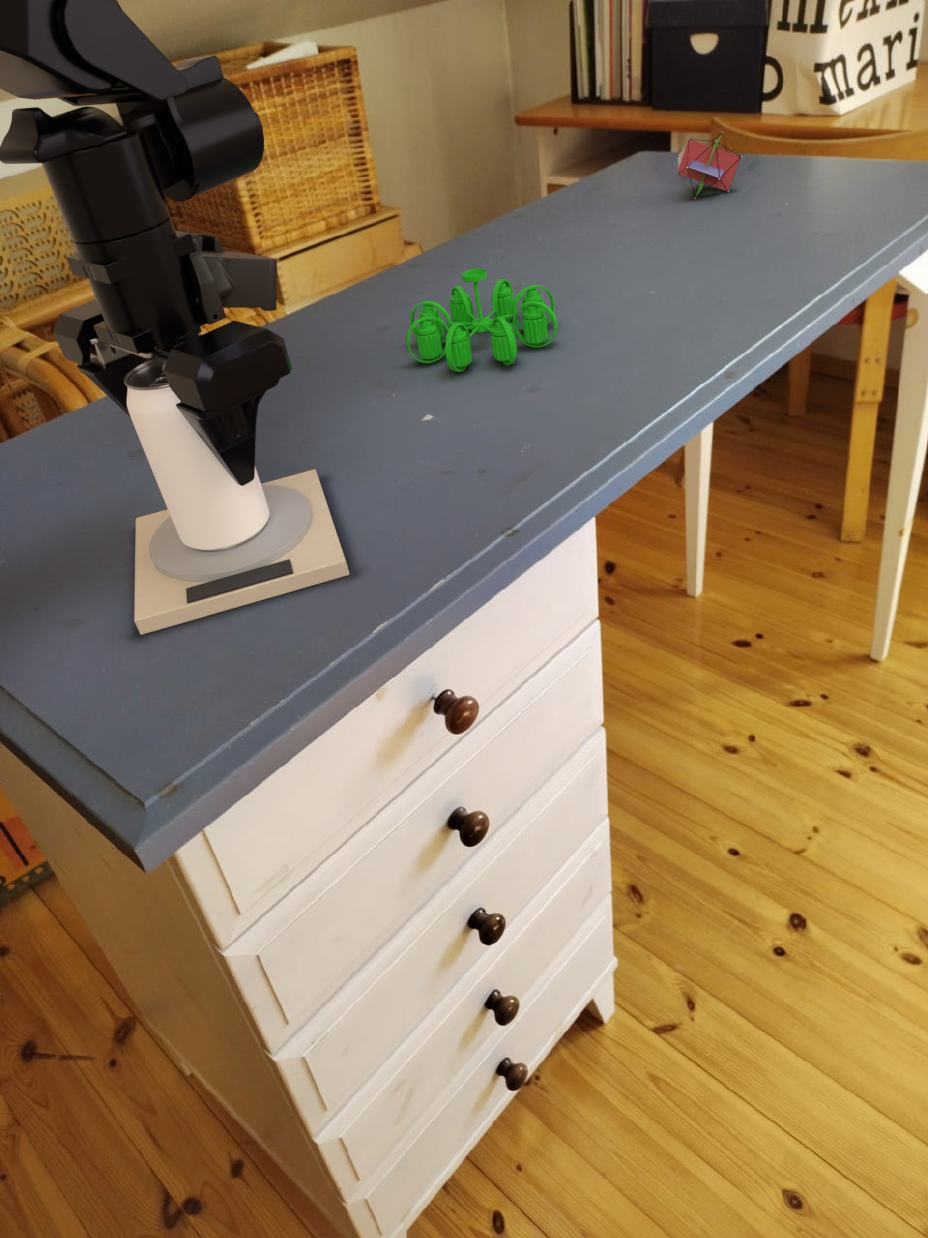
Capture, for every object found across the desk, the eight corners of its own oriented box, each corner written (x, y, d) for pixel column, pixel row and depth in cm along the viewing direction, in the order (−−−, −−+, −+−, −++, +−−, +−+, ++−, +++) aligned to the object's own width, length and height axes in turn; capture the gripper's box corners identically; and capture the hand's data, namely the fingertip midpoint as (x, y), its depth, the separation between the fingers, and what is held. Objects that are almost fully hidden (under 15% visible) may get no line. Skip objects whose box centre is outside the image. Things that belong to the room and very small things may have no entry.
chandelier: (380, 377, 88) (364, 303, 84) (447, 314, 99) (435, 246, 94) (530, 382, 82) (520, 304, 78) (584, 315, 93) (578, 242, 88)
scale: (140, 635, 61) (130, 613, 60) (141, 531, 72) (132, 510, 71) (349, 575, 63) (343, 552, 62) (319, 482, 74) (313, 461, 73)
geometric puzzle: (757, 163, 117) (718, 109, 115) (748, 179, 112) (707, 123, 110) (710, 202, 122) (671, 151, 120) (699, 219, 117) (659, 166, 115)
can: (281, 500, 69) (231, 342, 62) (257, 550, 64) (199, 384, 56) (198, 508, 70) (139, 353, 63) (168, 558, 65) (100, 395, 58)
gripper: (328, 195, 53) (386, 445, 62) (158, 178, 64) (229, 391, 74) (158, 262, 47) (249, 525, 57) (6, 230, 59) (103, 453, 68)
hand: (208, 465), depth 64 cm, fingers open, 9 cm apart
